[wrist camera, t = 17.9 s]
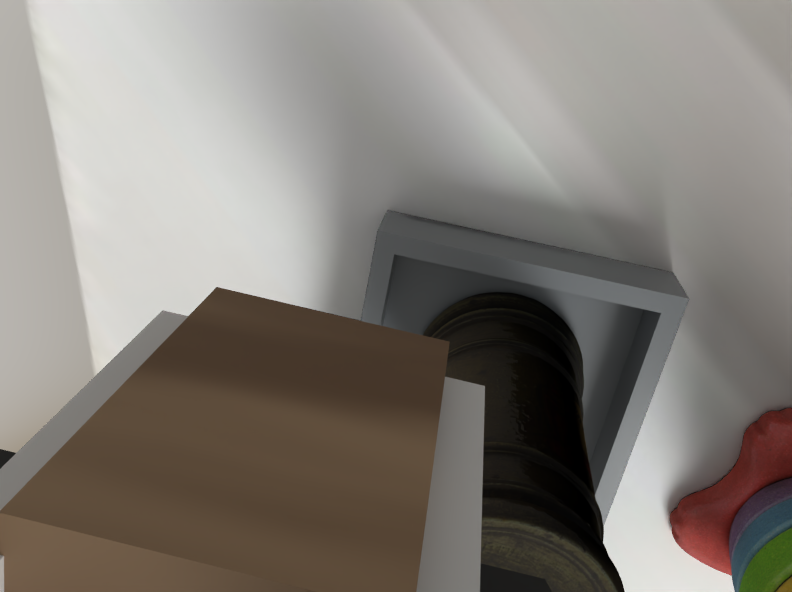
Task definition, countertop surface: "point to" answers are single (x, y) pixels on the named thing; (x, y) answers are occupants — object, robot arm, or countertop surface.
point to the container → (530, 440)
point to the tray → (557, 289)
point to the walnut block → (243, 463)
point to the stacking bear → (746, 512)
